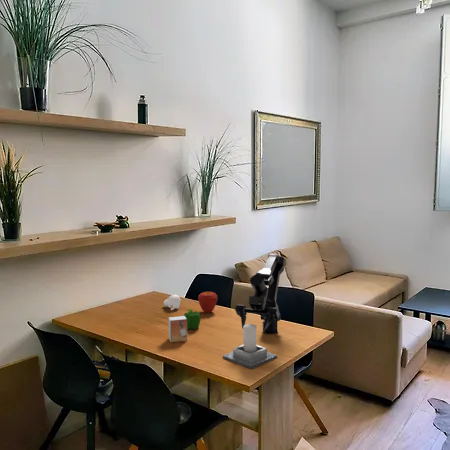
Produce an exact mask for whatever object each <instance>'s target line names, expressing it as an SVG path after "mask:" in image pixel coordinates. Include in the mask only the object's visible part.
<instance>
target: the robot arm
mask: <svg viewBox="0 0 450 450" xmlns="http://www.w3.org/2000/svg"><path fill="white" fill-rule="evenodd" d="M286 265H287V259H286V258H285V257H284V256H281V255H279V254H273V253H270V254H268V256H267V260H266V262H265V264H264V266H263V268H262V269H260V270H259V271H258V272H256V273H255V274H254V275H252V276H251V277H250V278H249V282H250V285H251V288H252V289H253V291H254V294H253V295H252V296H251V295H250V296H249V297H248V304H249V307H250V308H248V307H246V305H245V304H236V305H235V307H234V311H235V312H236V316H239V317H240V319H241V320H240V321H241V327H242V330H243V326H244V325H246V321H247V315H248V314H254V315H255V314H257V315H259V314H260V319H261V320H263V321H262V331H263V332H264V334H266V335H267V334H270V335H271V334H279V331H278V322H279V321H281V313H280V310H279V306H278V303H277V298H278V297H277V295H278V291H279V283H280V276H281V274H282V273H283V272H284V271H285V267H286ZM267 286H268V287H267Z"/></svg>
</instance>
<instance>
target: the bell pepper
mask: <svg viewBox="0 0 450 450" xmlns="http://www.w3.org/2000/svg"><path fill="white" fill-rule="evenodd" d="M186 311H187V312H184V314H183V316H185V317H186V319H187V330H197V329H198V328H199V327H200V324H201V319H202V318H201V313H200V312H198V311H197V310H195V311H194V310H193V309H191V308H187V309H186Z"/></svg>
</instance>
